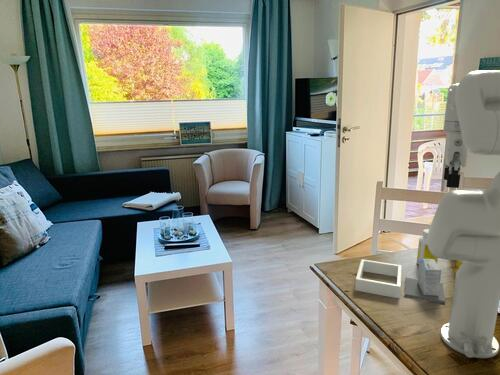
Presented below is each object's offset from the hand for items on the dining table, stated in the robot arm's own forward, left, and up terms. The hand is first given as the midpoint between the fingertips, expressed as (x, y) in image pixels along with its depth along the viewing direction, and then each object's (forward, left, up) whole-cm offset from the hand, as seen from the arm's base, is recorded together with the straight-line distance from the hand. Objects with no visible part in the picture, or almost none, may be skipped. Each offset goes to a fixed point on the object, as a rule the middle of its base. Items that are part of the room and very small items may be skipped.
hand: (450, 183), depth 112 cm
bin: (-8, +18, -33) cm, 39 cm away
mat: (-8, +4, -33) cm, 35 cm away
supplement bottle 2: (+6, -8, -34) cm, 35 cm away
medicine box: (-8, +4, -33) cm, 34 cm away
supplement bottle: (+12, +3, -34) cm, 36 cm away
